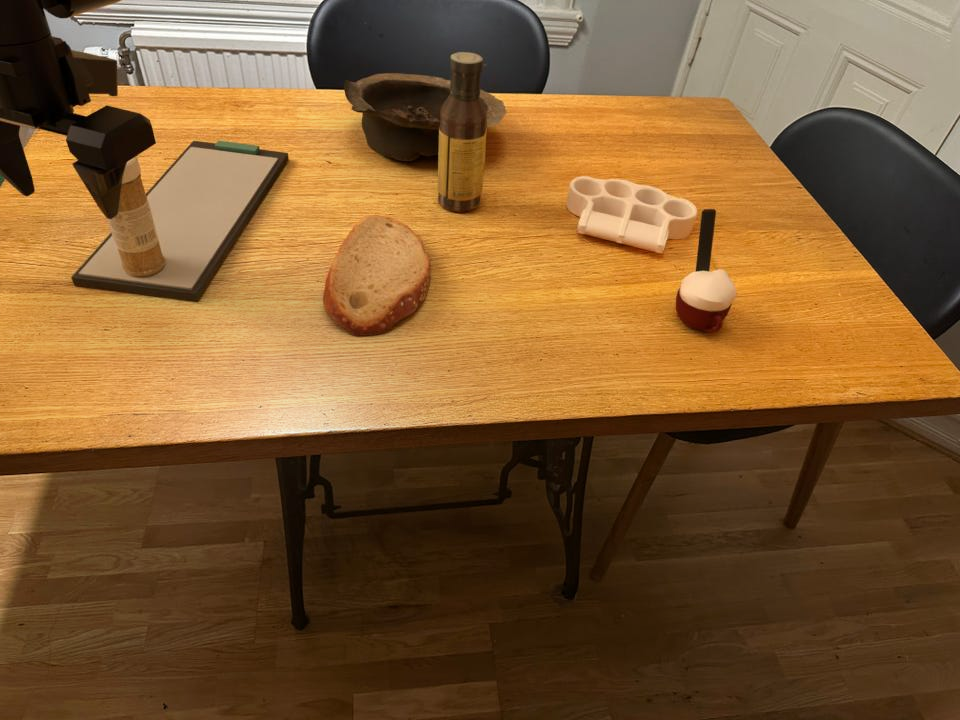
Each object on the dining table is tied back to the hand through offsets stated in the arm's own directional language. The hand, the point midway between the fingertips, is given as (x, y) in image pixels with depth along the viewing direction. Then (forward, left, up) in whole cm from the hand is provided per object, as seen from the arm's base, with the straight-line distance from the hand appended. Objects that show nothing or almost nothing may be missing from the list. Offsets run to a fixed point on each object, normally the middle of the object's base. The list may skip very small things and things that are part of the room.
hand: (70, 205), depth 66 cm
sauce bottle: (+44, +16, -13) cm, 49 cm away
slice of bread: (+29, +1, -13) cm, 32 cm away
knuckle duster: (+66, +7, -13) cm, 68 cm away
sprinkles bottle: (+4, +6, -12) cm, 13 cm away
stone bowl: (+44, +35, -13) cm, 58 cm away
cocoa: (+65, -14, -13) cm, 68 cm away
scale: (+9, +18, -13) cm, 24 cm away
